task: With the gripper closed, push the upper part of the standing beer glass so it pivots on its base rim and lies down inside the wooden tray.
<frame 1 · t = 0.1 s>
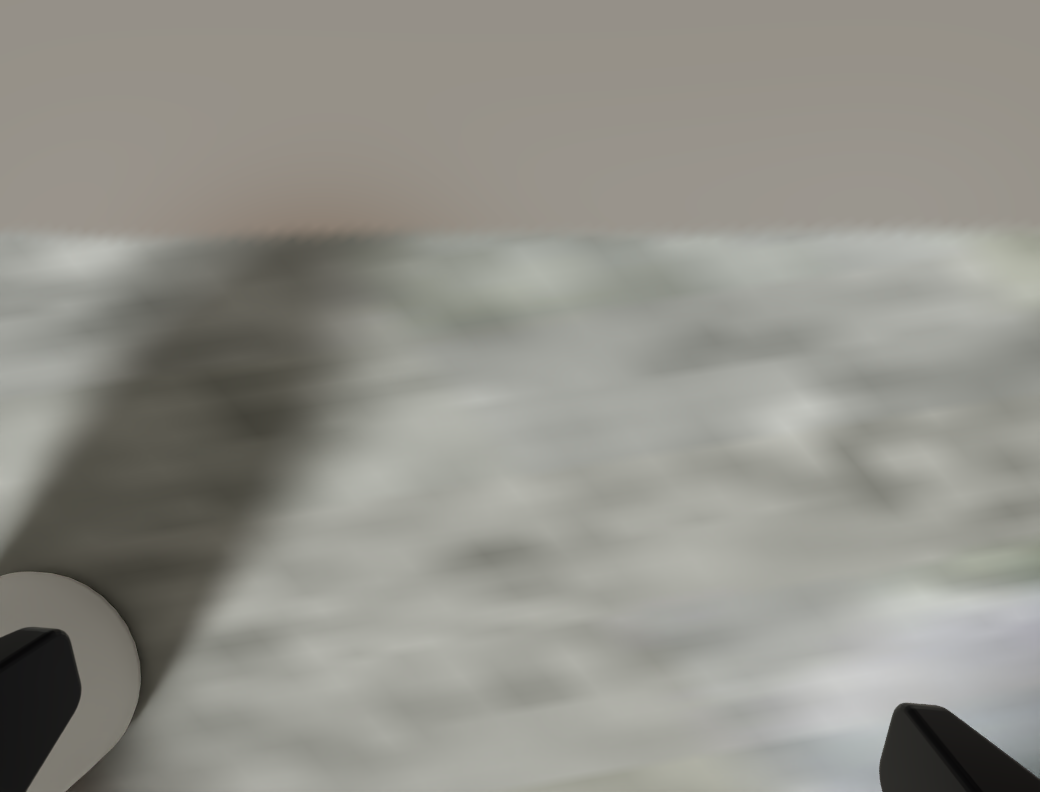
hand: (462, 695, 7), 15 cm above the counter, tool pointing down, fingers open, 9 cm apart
milk bottle: (55, 662, 25), on the counter
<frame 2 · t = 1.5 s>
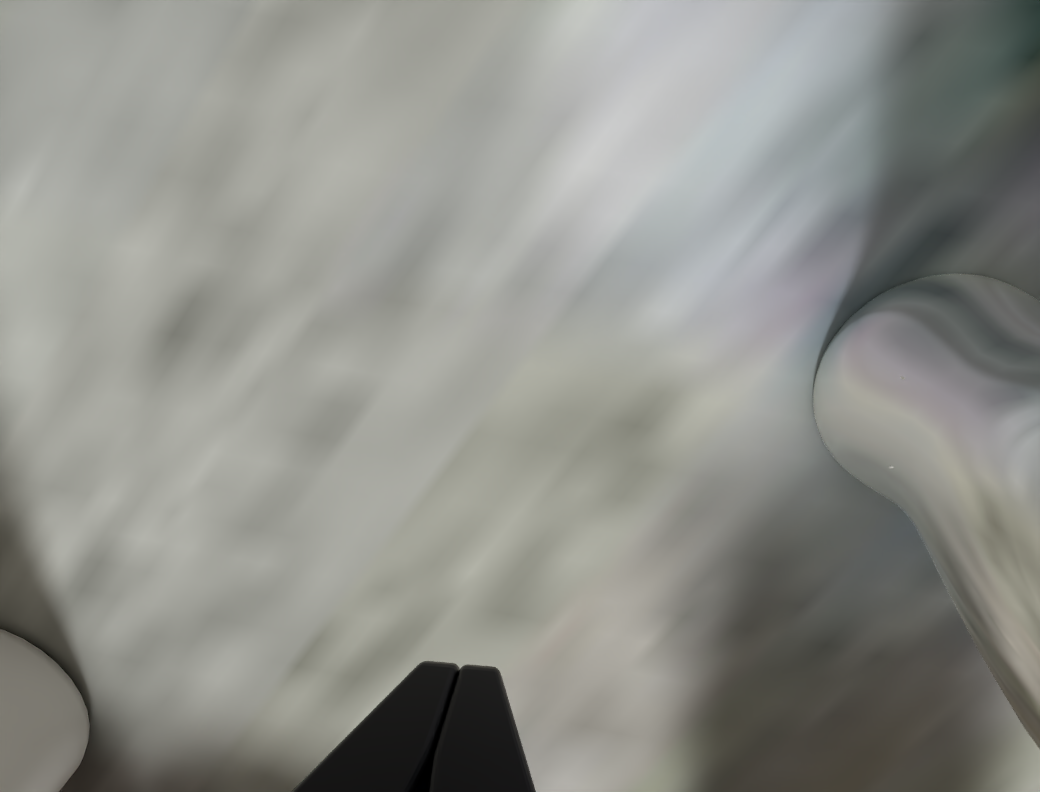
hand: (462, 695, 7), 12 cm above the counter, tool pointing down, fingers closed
milk bottle: (2, 696, 25), on the counter
beer glass: (926, 384, 18), on the counter
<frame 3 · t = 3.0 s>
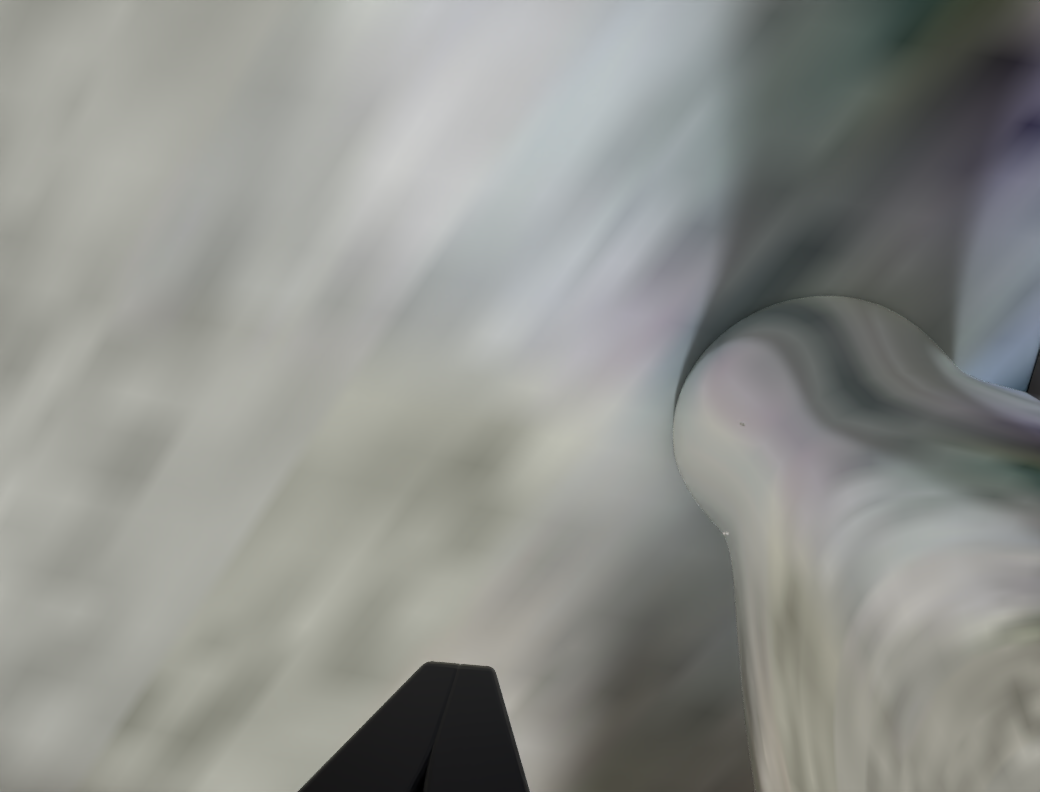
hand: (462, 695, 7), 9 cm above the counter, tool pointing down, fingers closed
beer glass: (803, 423, 15), on the counter, touching gripper
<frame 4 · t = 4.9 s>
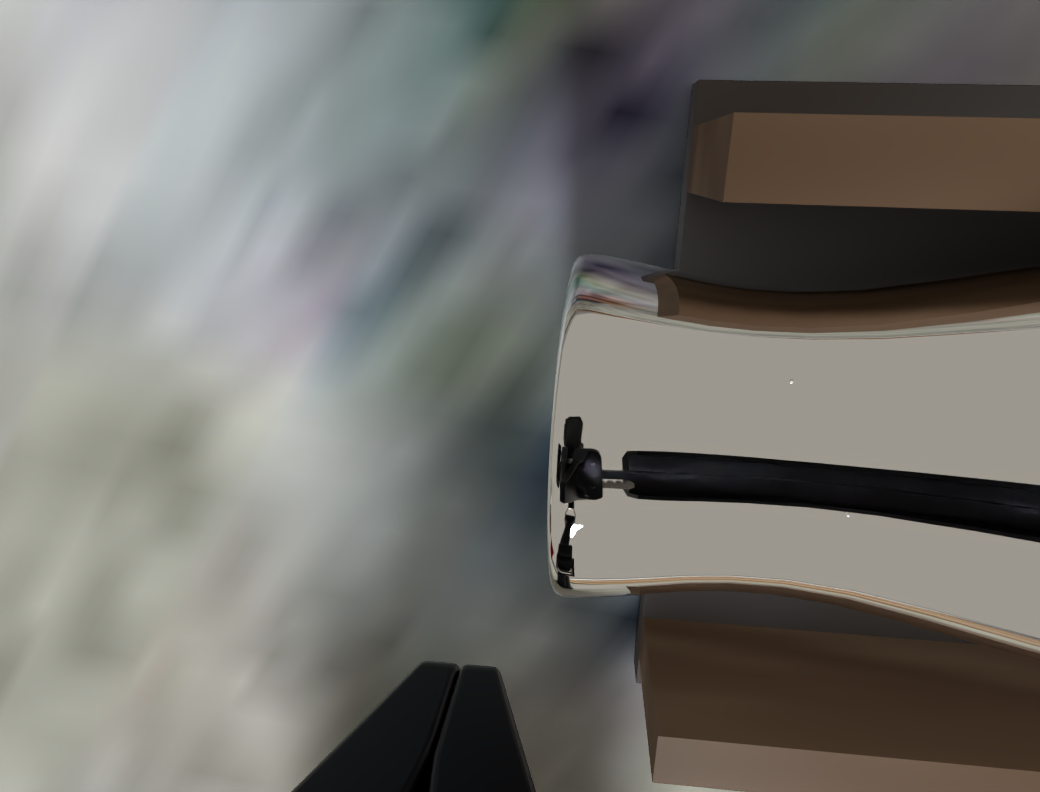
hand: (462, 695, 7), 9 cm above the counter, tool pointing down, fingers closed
beer glass: (557, 422, 12), point 3 cm above the counter, touching wooden tray
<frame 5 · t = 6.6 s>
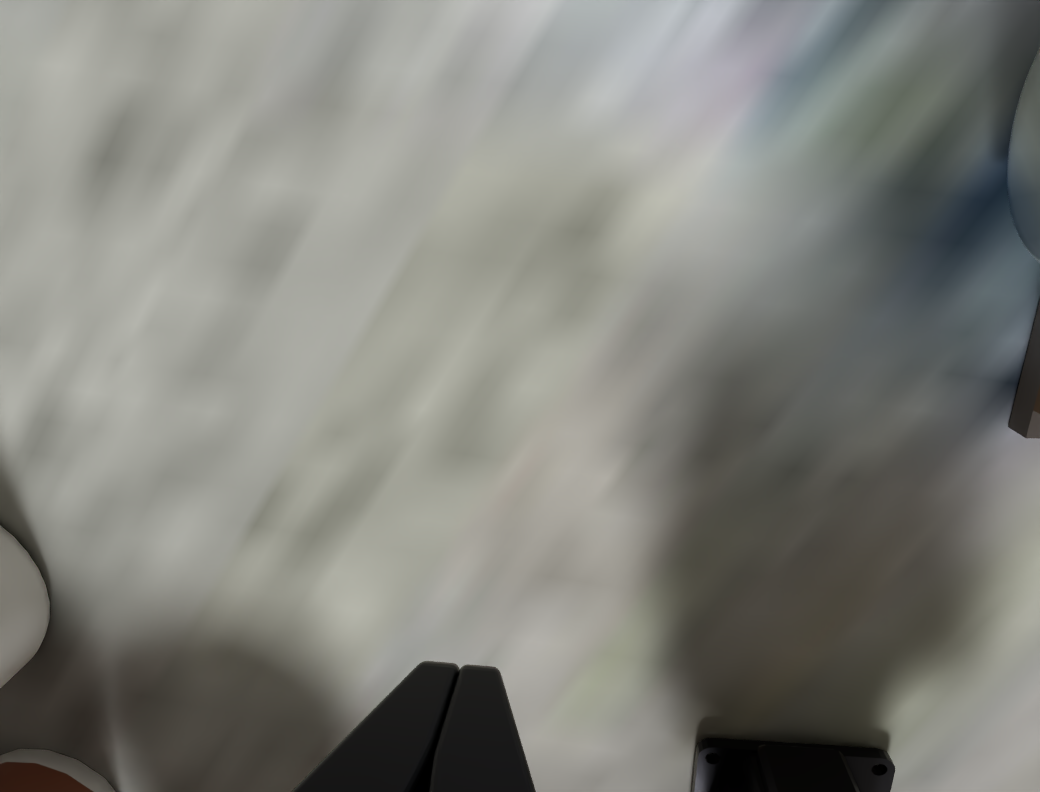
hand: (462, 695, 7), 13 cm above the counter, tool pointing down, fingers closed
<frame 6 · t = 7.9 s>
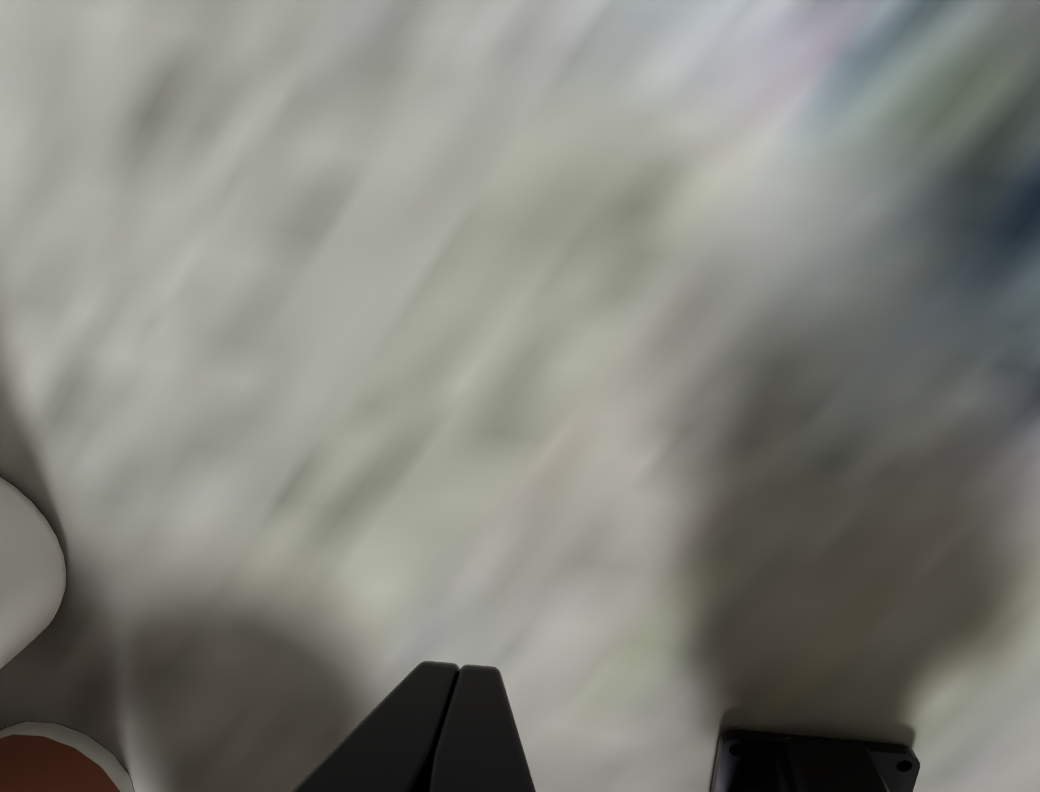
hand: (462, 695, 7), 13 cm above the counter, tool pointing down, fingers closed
coffee cup: (64, 778, 27), on the counter
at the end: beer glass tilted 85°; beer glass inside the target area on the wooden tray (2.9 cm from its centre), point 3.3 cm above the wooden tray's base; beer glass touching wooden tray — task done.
